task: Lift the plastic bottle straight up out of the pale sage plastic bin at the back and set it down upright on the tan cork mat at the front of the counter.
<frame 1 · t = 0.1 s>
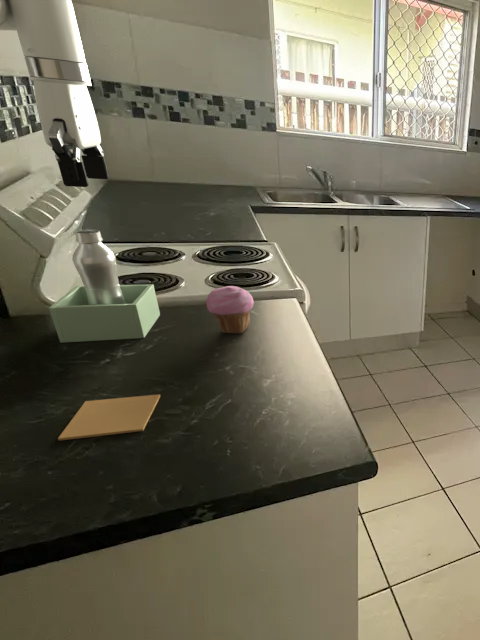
hand: (88, 182, 84), 30 cm above the worktop, tool pointing down, fingers open, 9 cm apart
cupcake: (235, 331, 104), on the worktop
mat: (113, 416, 73), on the worktop
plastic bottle: (113, 327, 100), resting on bin
bin: (114, 327, 100), on the worktop
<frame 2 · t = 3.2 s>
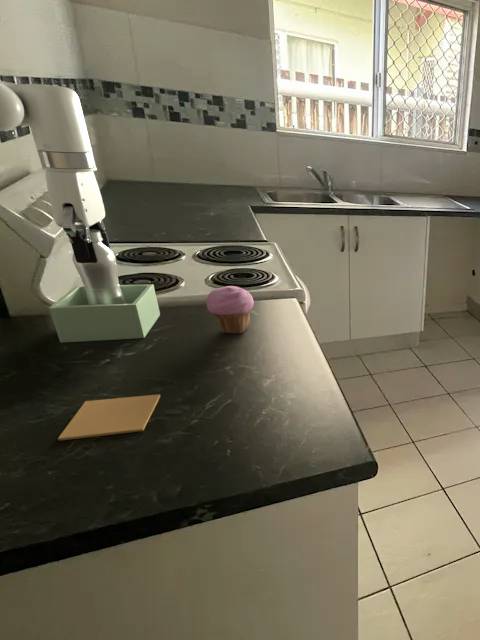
hand: (94, 256, 93), 15 cm above the worktop, tool pointing down, fingers closed on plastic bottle, 6 cm apart
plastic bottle: (113, 327, 100), resting on bin, touching gripper
everything else where it was.
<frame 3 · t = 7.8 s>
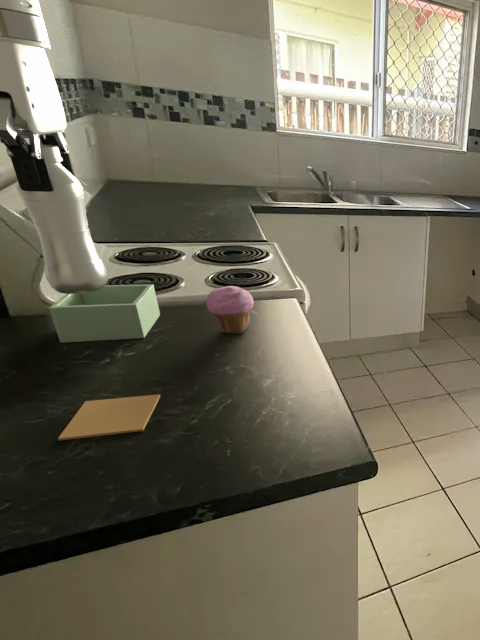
hand: (50, 185, 63), 34 cm above the worktop, tool pointing down, fingers closed on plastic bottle, 6 cm apart
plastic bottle: (82, 292, 70), point 18 cm above the worktop, touching gripper
everything else where it was.
when the fingers open (15 cm above the worktop, at t = 12.8 s): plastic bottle stays where it is, resting on mat.
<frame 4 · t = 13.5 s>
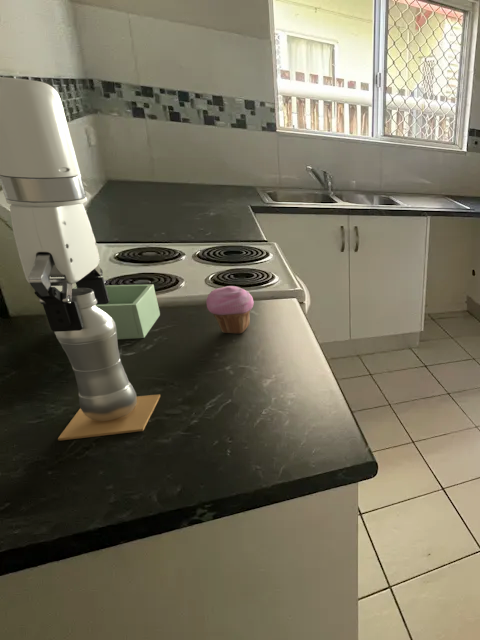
hand: (83, 316, 66), 17 cm above the worktop, tool pointing down, fingers open, 9 cm apart
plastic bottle: (113, 415, 73), resting on mat
everything else where it was.
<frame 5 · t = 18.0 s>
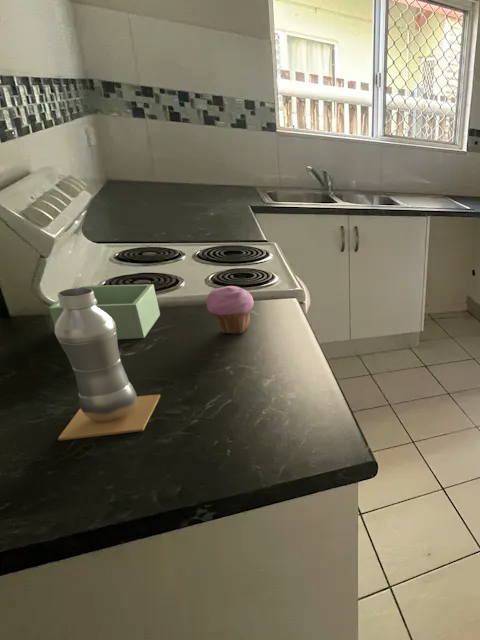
nothing on the worktop moved.
at the end: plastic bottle inside the target area on the mat (0.0 cm from its centre), point 0.2 cm above the mat's base; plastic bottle tilted 0°; the gripper is holding nothing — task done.
